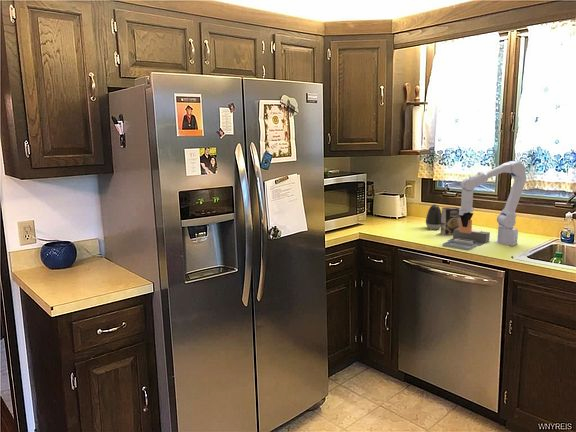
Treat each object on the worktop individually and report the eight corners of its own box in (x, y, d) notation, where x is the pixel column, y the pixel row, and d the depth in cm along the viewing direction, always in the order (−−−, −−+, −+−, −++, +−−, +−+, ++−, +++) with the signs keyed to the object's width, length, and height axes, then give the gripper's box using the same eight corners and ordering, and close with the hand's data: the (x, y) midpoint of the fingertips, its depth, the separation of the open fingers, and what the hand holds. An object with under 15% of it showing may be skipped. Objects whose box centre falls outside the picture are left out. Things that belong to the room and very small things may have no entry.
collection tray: (476, 247, 242) (476, 244, 242) (468, 251, 235) (468, 248, 235) (450, 243, 252) (450, 240, 252) (442, 247, 245) (442, 243, 244)
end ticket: (471, 232, 248) (472, 220, 247) (470, 233, 247) (470, 220, 246) (460, 231, 252) (461, 218, 251) (459, 232, 251) (459, 219, 250)
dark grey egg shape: (423, 229, 287) (424, 205, 284) (428, 226, 296) (429, 202, 293) (439, 231, 282) (440, 206, 279) (444, 227, 290) (445, 204, 287)
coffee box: (445, 236, 268) (446, 209, 265) (440, 234, 274) (441, 207, 271) (460, 235, 269) (461, 208, 266) (454, 233, 275) (455, 206, 272)
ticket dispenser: (489, 242, 252) (489, 231, 251) (479, 247, 243) (480, 236, 242) (457, 237, 265) (457, 227, 263) (446, 241, 255) (447, 231, 254)
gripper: (465, 199, 254) (463, 223, 257) (453, 202, 244) (452, 227, 246) (478, 200, 249) (476, 225, 252) (466, 203, 239) (465, 229, 242)
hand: (465, 226), depth 249 cm, fingers closed on end ticket, 1 cm apart
